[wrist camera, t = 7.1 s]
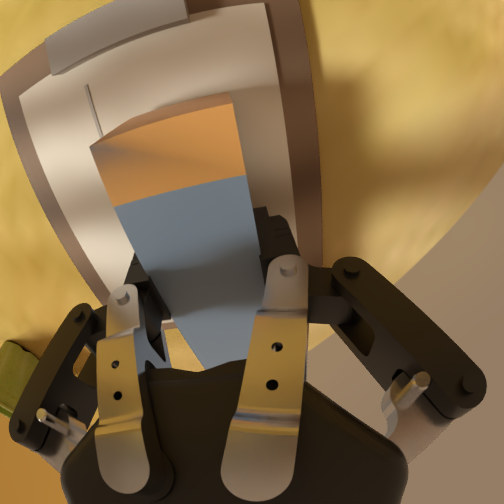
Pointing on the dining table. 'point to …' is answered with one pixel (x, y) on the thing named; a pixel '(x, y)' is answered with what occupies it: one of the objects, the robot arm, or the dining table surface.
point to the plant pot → (14, 375)
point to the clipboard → (158, 96)
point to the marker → (190, 219)
